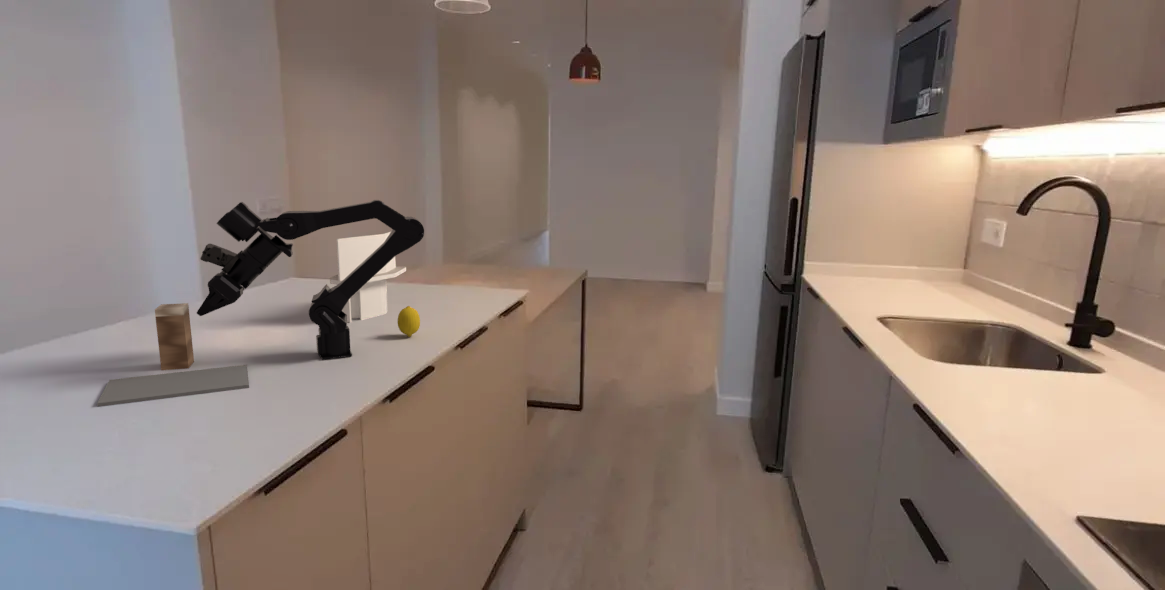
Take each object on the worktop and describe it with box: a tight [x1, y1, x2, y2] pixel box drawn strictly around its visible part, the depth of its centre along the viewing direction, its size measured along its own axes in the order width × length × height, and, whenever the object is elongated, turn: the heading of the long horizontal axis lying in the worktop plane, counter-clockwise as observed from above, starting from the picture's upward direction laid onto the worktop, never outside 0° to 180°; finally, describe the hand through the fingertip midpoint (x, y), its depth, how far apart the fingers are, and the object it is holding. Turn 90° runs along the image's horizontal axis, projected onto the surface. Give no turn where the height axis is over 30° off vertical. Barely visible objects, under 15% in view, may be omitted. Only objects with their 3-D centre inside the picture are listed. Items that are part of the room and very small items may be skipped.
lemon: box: [397, 305, 421, 338], centre depth 164 cm, size 6×6×8 cm
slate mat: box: [96, 364, 250, 407], centre depth 127 cm, size 24×14×1 cm, turn 118°
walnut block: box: [154, 302, 195, 371], centre depth 137 cm, size 5×5×13 cm
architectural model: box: [329, 231, 407, 324], centre depth 186 cm, size 28×21×23 cm
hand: (203, 309), depth 138 cm, fingers open, 9 cm apart
